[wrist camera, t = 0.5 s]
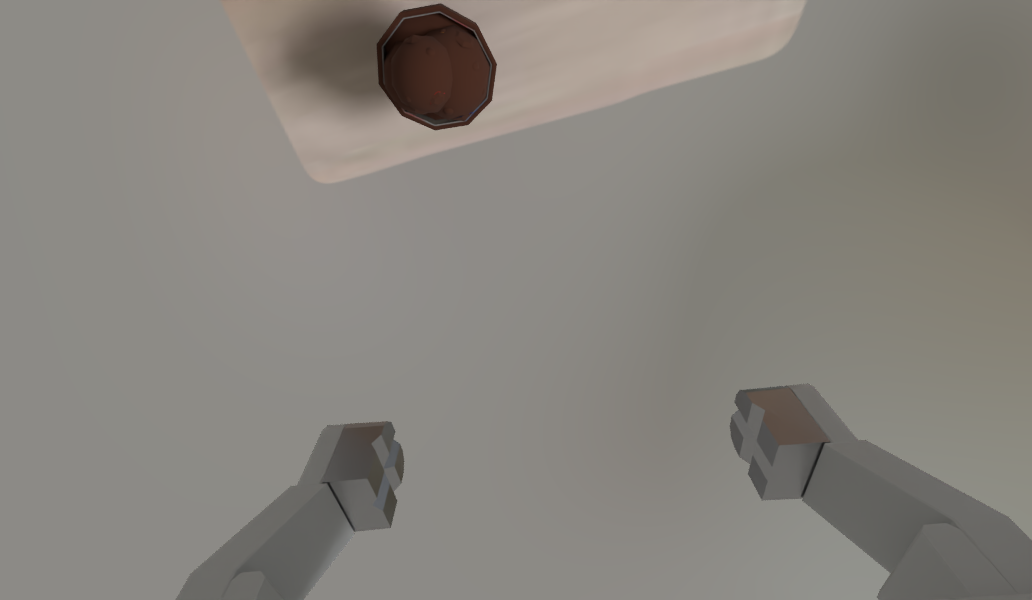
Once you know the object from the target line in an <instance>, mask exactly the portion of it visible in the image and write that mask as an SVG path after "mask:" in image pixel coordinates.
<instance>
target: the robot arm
mask: <svg viewBox="0 0 1032 600" xmlns="http://www.w3.org/2000/svg"><path fill="white" fill-rule="evenodd" d="M735 404H736V406H737V407H738V409H739V410H738V411H737V412H735V414H733V415H732V417H731V423H730V431H731V438H732V441H733V444H734V447H735V449H736V451H737V453H738V455H739V457H740V458H742V459H743V460H745V461H746V462H748V463H749V464H750V468H749V472H748V475H749V477H750V478H751V480H752V482H753V484H754V486H755V488H756V490H757V492H758V494H759V495H760V497H761V499H762V500H779V499H799V498H803V500H802V501H804V502H805V503H806V504H807V505H808V506H810V507H811V508H812V509H813V510H814V511H816V512H817V513H818V514H819V515H820V516H822V517H823V518H824V519H825V520H827V521H828V522H829V523H830V524H831V525H833V526H834V527H835V528H836V529H838V530H839V531H840V532H841V533H842V534H844V535H845V536H846V537H847V538H848V539H850V540H851V541H852V542H853V543H855V544H856V545H857V546H858V547H859V548H861V549H862V550H863V551H864V552H865V553H867V554H868V555H869V556H870V557H872V558H873V559H874V560H875V561H876V562H878V563H879V564H880V565H882V567H884V568H885V569H886V570H887V571H889V572H890V573H891V574H890V576H889V577H888V579H887V580H886V582H885V583H884V585H883V586H882V588H881V589H880V591H879V593H878V596H877V598H878V599H879V600H1032V540H1031V539H1030V538H1029V537H1028V536H1027V535H1026V534H1025V533H1024V532H1023V531H1022V530H1021V529H1020V528H1019V527H1018V526H1017V525H1016V524H1015V523H1014V522H1013V521H1012V520H1011V519H1010V518H1009V517H1007V516H1006V515H1004V514H1002V513H1000V512H998V511H996V510H994V509H993V508H991V507H989V506H987V505H985V504H983V503H982V502H980V501H978V500H976V499H974V498H972V497H970V496H969V495H966V494H965V493H963V492H961V491H959V490H957V489H955V488H954V487H952V486H950V485H948V484H946V483H944V482H943V481H941V480H939V479H937V478H935V477H933V476H931V475H930V474H928V473H926V472H924V471H922V470H920V469H918V468H916V467H915V466H913V465H911V464H909V463H907V462H905V461H903V460H902V459H900V458H898V457H896V456H894V455H893V454H891V453H889V452H887V451H885V450H883V449H881V448H879V447H878V446H876V445H874V444H872V443H870V442H868V441H866V440H858V439H857V438H856V437H855V436H854V435H853V433H852V432H851V431H850V430H849V429H848V427H847V426H846V425H845V424H844V422H843V421H842V420H841V419H840V418H839V416H838V415H837V414H836V413H835V412H834V410H833V409H832V408H831V407H830V406H829V404H828V403H827V402H826V401H825V400H824V398H823V397H822V396H821V395H820V393H819V392H818V391H817V390H816V389H815V387H813V386H812V385H810V384H799V385H790V386H777V387H767V388H757V389H746V390H740V391H739V392H738V393H737V394H736V398H735ZM394 435H395V430H394V427H393V425H392V423H391V422H388V421H386V422H369V423H353V424H344V425H328V426H327V427H326V428H324V429H323V431H322V432H321V434H320V437H319V439H318V441H317V443H316V445H315V447H314V450H313V452H312V454H311V456H310V458H309V461H308V463H307V465H306V467H305V469H304V472H303V474H302V476H301V478H300V480H299V482H298V485H297V486H291V487H289V488H288V489H287V490H286V491H285V492H284V493H282V494H281V495H280V496H279V497H278V498H277V499H276V500H274V501H273V502H272V503H271V504H270V505H269V506H268V507H266V508H265V509H264V510H263V511H262V512H261V513H260V514H258V515H257V516H256V517H255V518H254V519H253V520H252V521H250V522H249V523H248V524H247V525H246V526H245V527H244V528H242V529H241V530H240V531H239V532H238V533H237V534H236V535H234V536H233V537H232V538H231V539H230V540H229V541H228V542H227V543H225V544H224V545H223V546H222V547H221V548H220V549H219V550H218V551H216V552H215V553H214V554H213V555H212V556H211V557H209V558H208V559H207V560H206V561H205V562H204V563H202V564H201V565H200V566H199V567H198V568H197V569H196V570H194V571H193V572H192V573H191V574H190V576H189V577H188V579H187V581H186V583H185V585H184V586H183V588H182V590H181V591H180V593H179V595H178V596H177V598H176V600H304V598H305V597H306V595H308V593H309V592H310V591H311V589H312V588H313V587H314V586H315V584H316V583H317V582H318V580H319V579H320V578H321V577H322V575H323V574H324V573H325V571H326V570H327V569H328V568H329V566H330V565H331V564H332V562H333V561H334V560H335V559H336V557H337V556H338V555H339V553H340V552H341V551H342V550H343V548H344V547H345V546H346V545H347V543H348V542H349V541H350V539H351V538H352V537H353V536H354V534H355V533H354V532H355V531H365V530H375V529H384V528H391V525H392V520H393V516H394V512H395V508H396V504H397V499H396V497H395V495H394V491H395V489H396V488H397V487H398V486H399V485H400V484H401V482H402V478H403V473H404V456H403V450H402V448H401V445H400V444H399V443H398V442H396V441H395V440H394V439H393V438H394Z"/></svg>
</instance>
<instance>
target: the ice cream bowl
mask: <svg viewBox="0 0 1032 600" xmlns="http://www.w3.org/2000/svg"><path fill="white" fill-rule="evenodd" d="M377 59H378V77H379V85H380V86H381V88H382V89H383V90H384V92H385V93H386V95H387V96H388V97H389V99H390V100H391V102H392V103H393V104H394V106H395V107H396V108H397V110H398V111H399V113H400V114H401V115H402V116H404V117H406V118H408V119H410V120H413V121H415V122H417V123H420V124H422V125H424V126H426V127H429V128H431V129H433V130H440V129H446V128H452V127H458V126H464V125H469V124H470V123H471V122H472V121H473V119H474V118H475V117H476V116H477V115H478V114H479V113H480V112H481V111H482V110H483V109H484V108H485V107H486V106H487V105H488V104H489V103H490V102H491V101H492V95H493V88H494V81H495V73H496V66H497V63H496V61H495V59H494V57H493V55H492V53H491V51H490V49H489V47H488V45H487V43H486V41H485V39H484V37H483V35H482V33H481V31H480V29H479V27H478V26H477V24H476V23H475V22H473V21H471V20H470V19H468V18H466V17H464V16H462V15H461V14H459V13H457V12H455V11H453V10H452V9H450V8H448V7H446V6H445V5H443V4H435V5H430V6H424V7H419V8H413V9H408V10H403V11H402V12H400V13H399V14H398V16H397V17H396V19H395V20H394V21H393V23H392V24H391V25H390V27H389V28H388V30H387V31H386V32H385V34H384V35H383V36H382V38H381V39H380V40H379V42H378V43H377Z"/></svg>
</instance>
